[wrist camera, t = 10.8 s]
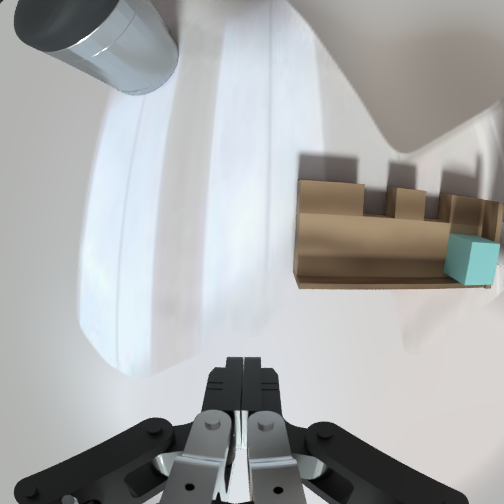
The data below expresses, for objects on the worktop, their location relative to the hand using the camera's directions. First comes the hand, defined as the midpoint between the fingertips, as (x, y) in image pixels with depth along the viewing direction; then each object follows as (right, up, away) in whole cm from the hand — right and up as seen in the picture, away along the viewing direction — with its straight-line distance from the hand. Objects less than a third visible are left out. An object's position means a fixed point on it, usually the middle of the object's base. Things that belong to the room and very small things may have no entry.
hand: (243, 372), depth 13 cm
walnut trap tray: (+18, +8, +23) cm, 30 cm away
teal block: (+27, +5, +20) cm, 34 cm away
